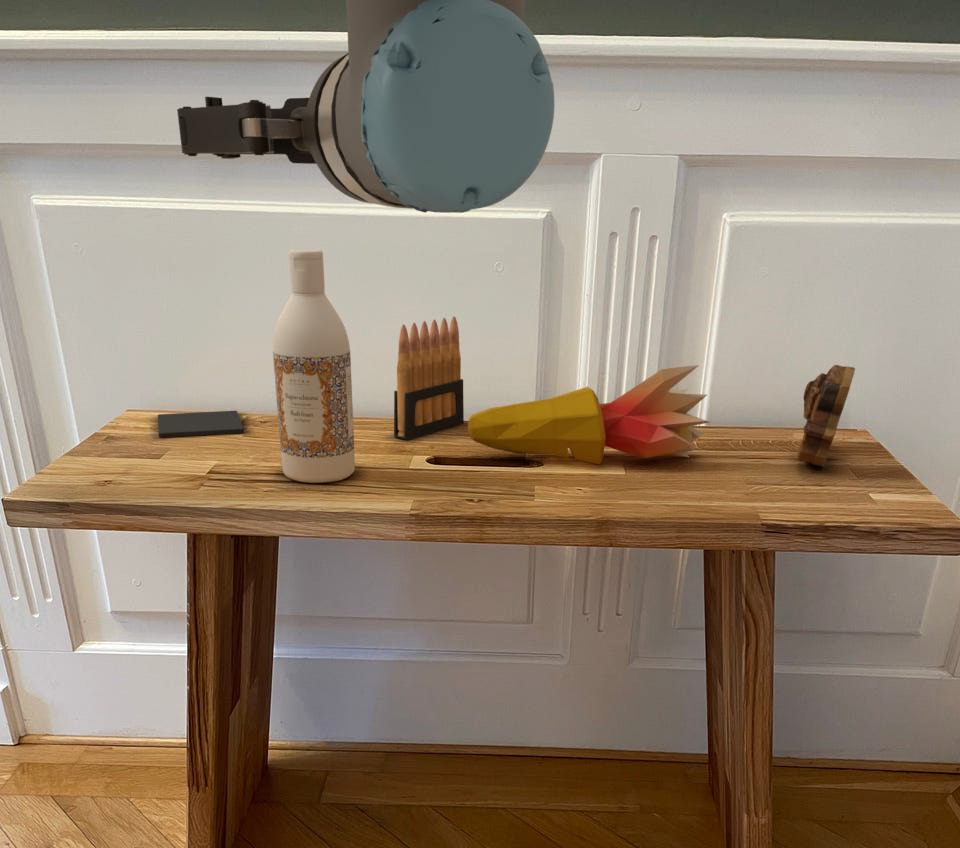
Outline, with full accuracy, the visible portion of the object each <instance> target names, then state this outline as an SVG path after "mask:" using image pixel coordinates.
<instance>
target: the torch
mask: <svg viewBox="0 0 960 848" xmlns="http://www.w3.org/2000/svg"><path fill="white" fill-rule="evenodd" d="M699 366H700V364H695V365H688V366H678V367H677V366H676V367H669V368H661V369H660V370H659V371H657V372H655V373H654V374H653V375H651V376H649V377H648V378H647V379H644V380H643V381H641V382H640V383H639V384H637V385H635V386H634V387H632V388H631V389H629V390H628V391H626V392H625V393H623V394H622V395H620V396H618V397H617V398H615V399H613V400H612V401H611V402H605V403H600V400H599V397H598V395H597V394H596V393H595V391H594V389H592V388H591V387H589V386H585V387H582V388H578V389H576V390H572V391H569V392H566V393H563V394H560V395H557V396H554V397H551V398H547V399H545V398H544V399H539V400H533V401H525V402H521V403H514V404H508V405H502V406H495V407H490V408H489V407H488V408H487V409H485V410H482V411H479V412H476V413H473V414H472V415H470V417H469V419H468V423H467V431H468V434H469V437H470V438H471V439H472V441H473V442H475V443H477V444H480V445H483V446H486V447H489V448H492V449H495V450H499V451H504V452H508V453H514V454H522V455H523V454H524V455H525V454H526V455H550V456H559V457H561V458H567V459H569V457H570V456H569V451H570V452H571V454H572V455H573V457H574V459H575V460H577V461H581V462H586V463H590V464H594V465H600V464H601V463H602V460H603V458H604V455H605V447H606V448H607V447H608V448H610V449H613V450H616V451H618V452H622V453H625V454H628V455H630V456H634V457H637V458H641V459H650V458H656V457H662V456H666V457H677V458H678V457H679V458H690V455H689V454H688V452H694V451H695V448H694V441H693V440H697V439H700V436H705V433H703V432H701V430H698V429H696V428H694V426H698V425H705V424H709V423H710V424H711V421H708V420H706V419H703V418H700V417H698V416H695V415H692V414H689V412H690V411H691V410H692V409H694V408H695V406H697V405H698V404H699V403H700V402H701V401H702V400H704V399H705V398H706V397H707V396H708V394H703V393H686V392H688V389H673V388H674V387H675V386H676V385H678V383H680V382H681V381H682V380H684V379H685V378H686V377H687V376H688V375H690V374H691V373H692V372H693V371H695V370H696V369H697V368H698V367H699ZM672 389H673V390H672ZM692 426H693V427H692Z"/></svg>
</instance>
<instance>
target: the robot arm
mask: <svg viewBox="0 0 960 848" xmlns="http://www.w3.org/2000/svg"><path fill="white" fill-rule="evenodd" d="M345 7H346V8H345V9H346V27H347V31H346V32H347V53H345V54H344V55H342V56H341V57H339V58H338V59H336V60H335V61H333V62H332V63H330V64H329V65H328V66H327V67H326V69H324V71H323V72H322V73H320V75H319V77H318V78H317V81H316V82H315V84H314V86H313V88H312V90H311V92H310V95H309V97H290V98H286V100H285V101H284V104H283V106H282V107H281V108H272V106H271V105H270V104H266V103H265V102H263V101H260V100H259V99H249V101H248V102H241V103H238V104H228V105H227V104H226V105H223V98H222V97H216V96H205V97H204V100H205V101H204V102H205V106H201V107H199V106H198V107H192V106H182V107H179V108H176V111H177V119H178V128H179V129H178V130H179V138H180V145H181V153H182V154H184V155H186V156H188V157H197V156H198V155H200V154H202V155H203V154H205V155H207V154H209V155H213V156H216V157H218V158H219V157H220V158H221V159H225V160H226V159H228V160H232V159H233V160H234V159H238V158H241V155H254V156H264V155H285V156H286V158H287V159H288V161H289V162H290V163H292V164H300V165H301V164H304V165H305V164H306V165H307V164H308V165H316V166H317V167H318V169H319V170H320V173H322V175H323V177H324V178H325V179H326V180H327V181H328V182H329V183H330V184H331V185H332V186H333V187H334V188H335V189H336V190H338V191H339V192H340V193H342V194H343V195H345V196H347V197H349V198H351V199H353V200H356V201H357V202H358V201H359V202H361V203H367V204H374V205H379V206H383V207H387V208H395V209H410V210H411V209H414V210H415V211H417V212H421V213H427V212H429V213H430V212H431V213H441V214H442V213H443V214H446V213H449V214H450V213H451V214H452V213H453V214H455V213H456V214H457V213H458V214H460V213H461V214H462V213H467V212H470V211H471V210H478V209H483V208H487V207H490V206H493V205H495V204H498V203H500V202H502V201H504V200H505V199H507V198H508V197H511V196H512V195H513V194H514V193H515V192H517V191H518V190H519V189H520V188H521V187H522V186H523V185H524V184H525V183H526V182H527V181H528V180H529V179H530V177H531V176H532V174H533V173H534V172H535V171H536V169H537V168H538V166H539V164H540V163H541V160H542V159H543V157H544V154H545V152H546V150H547V147H548V144H549V141H550V137H551V135H552V134H551V133H552V130H553V123H554V118H555V90H554V83H553V80H552V76H551V72H550V68H549V65H548V62H547V59H546V57H545V55H544V53H543V51H542V48H541V45H540V43H539V40H538V39H537V38H536V35H534V33H533V31H532V30H531V29H530V28H529V27H528V25H527V24H526V23H525V18H526V17H525V15H526V0H345Z"/></svg>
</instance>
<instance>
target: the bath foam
mask: <svg viewBox="0 0 960 848" xmlns="http://www.w3.org/2000/svg"><path fill="white" fill-rule="evenodd" d="M323 253H324V252H323V250H322V249H314V248H312V249H311V248H296V249H295V248H294V249H293V248H292V249H290V250H288V264H289V278H290V288H291V289H290V290H291V294H290V297H289V299H288V300H287V302H286V304H285V306H284V307H283V310H282V311H281V313H280V315H279V316H278V317H279V318H278V320H277V322H276V325H275V328H274V333H273V339H272V358H273V371H274V382H275V395H276V408H277V409H276V410H277V420H278V433H279V445H280V446H279V447H280V457H281V467H282V472H283V474H284V475H285V477H287V478H288V479H290V480H293V481H296V482H300V483H309V484H323V483H324V484H325V483H334V482H337V481H342V480H344V479H347V478H348V477H350V476H351V475H352V474H353V473H354V472H355V468H356V461H355V460H356V459H355V431H354V407H353V383H352V382H353V381H352V361H351V360H352V359H351V347H350V341H349V337H348V333H347V329H346V327H345V325H344V323H343V321H342V319H341V317H340V316H339V314H338V312H337V310H336V309H335V308H334V306H333V304H332V303H331V301H330V300H329V298H328V297H327V295H326V293H325V291H326V290H325V289H326V287H325V269H324V266H325V265H324V254H323Z"/></svg>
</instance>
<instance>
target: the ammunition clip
mask: <svg viewBox="0 0 960 848" xmlns="http://www.w3.org/2000/svg"><path fill="white" fill-rule="evenodd" d="M460 351H461V350H460V330H459V325H458V321H457V318H456V316H452V318H451V320H450V324H449V325H448V321H447V318H446V317H443V318H442V320H441V323H440V327H439V325H438V322H437V320H436V319H433V320H432V322H431V325H430V329H429V326H428V324H427V322H426V321H425V320H424V321H422V324H421V326H420V331H419V329H418V327H417V323H416V322H413V323H412V325H411V327H410V332H409V333H408V329H407V327H406V325H405V324H402V325H401V328H400V331H399V338H398V352H397V365H396V390H394V391H393V437H394V438H396V439H401V440H405V441H410V440H414V439H416V438H419V437H423V436H426V435H429V434H432V433H436V432H439V431H443V430H445V429H449V428H452V427H455V426H458V425H462V424H464V423H465V421H464V420H465V419H464V415H465V414H464V413H465V412H464V379H463V378H462V377H461V373H462V372H461V371H462V369H461V368H462V367H461V366H462V362H461V361H462V360H461V359H462V357H461V352H460Z"/></svg>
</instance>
